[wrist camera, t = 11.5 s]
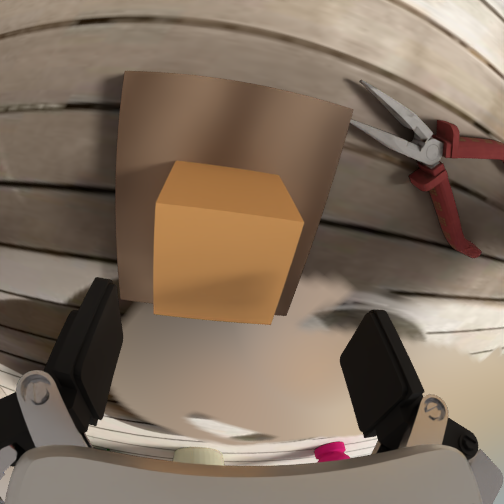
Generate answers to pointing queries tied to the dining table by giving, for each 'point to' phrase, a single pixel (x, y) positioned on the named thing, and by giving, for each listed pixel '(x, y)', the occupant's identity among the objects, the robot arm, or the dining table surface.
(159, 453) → the dining table surface
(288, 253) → the matte orange cube
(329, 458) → the pepper mill
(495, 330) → the dining table surface
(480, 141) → the pliers
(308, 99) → the board
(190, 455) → the reusable coffee cup
